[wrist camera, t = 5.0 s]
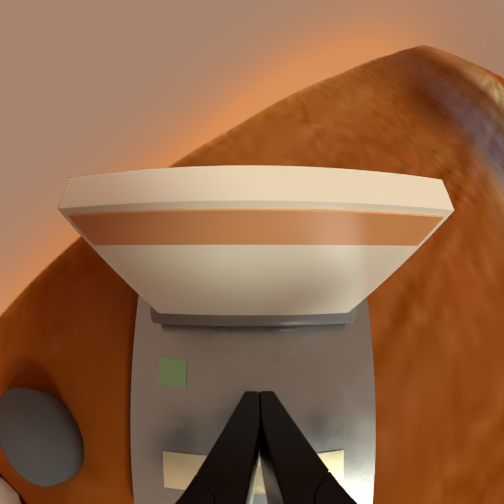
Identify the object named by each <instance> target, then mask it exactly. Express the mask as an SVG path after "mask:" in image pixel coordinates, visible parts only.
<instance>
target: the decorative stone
mask: <svg viewBox="0 0 504 504" xmlns="http://www.w3.org/2000/svg"><path fill="white" fill-rule="evenodd" d="M0 504H22V503H21V501H20V497H19V494H18V493H17V492H15V490H14V489H13V488H12V487H11V486H10V485H9V484H8V483H7V482H6V481H5V480H4V479H3V478H1V477H0Z"/></svg>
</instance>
